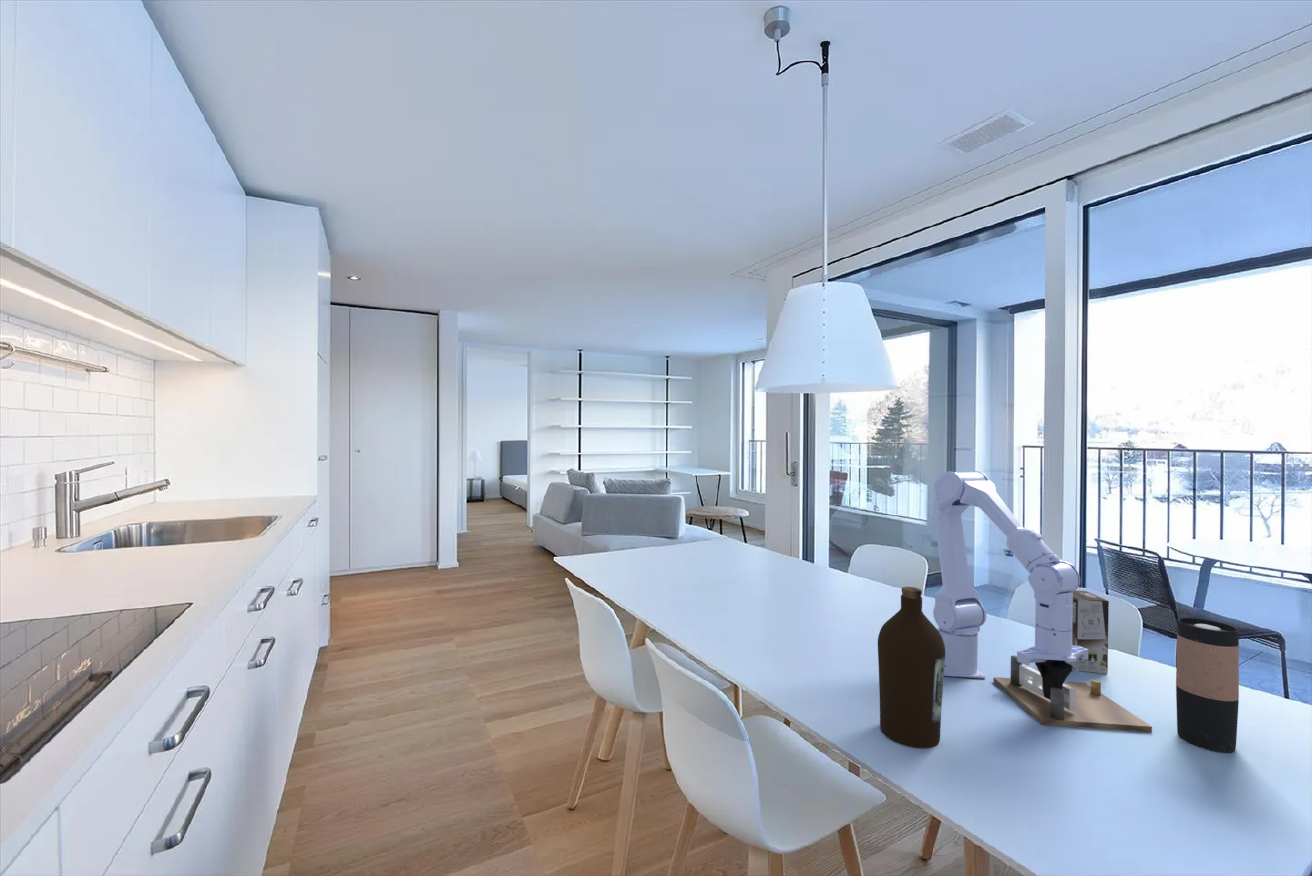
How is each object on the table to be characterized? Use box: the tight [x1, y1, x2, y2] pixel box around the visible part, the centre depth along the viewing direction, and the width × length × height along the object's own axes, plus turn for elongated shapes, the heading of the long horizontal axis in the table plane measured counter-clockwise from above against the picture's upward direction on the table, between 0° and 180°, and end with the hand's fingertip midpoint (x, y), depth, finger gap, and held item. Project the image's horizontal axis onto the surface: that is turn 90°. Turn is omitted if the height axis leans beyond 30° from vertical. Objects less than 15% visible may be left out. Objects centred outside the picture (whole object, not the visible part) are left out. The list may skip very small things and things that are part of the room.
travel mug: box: [1175, 617, 1240, 754], centre depth 96 cm, size 8×8×20 cm
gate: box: [1019, 664, 1076, 710], centre depth 108 cm, size 11×1×4 cm, turn 11°
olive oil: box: [877, 586, 945, 749], centre depth 96 cm, size 11×11×25 cm
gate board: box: [993, 655, 1153, 733], centre depth 108 cm, size 18×18×6 cm
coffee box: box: [1065, 590, 1110, 675], centre depth 128 cm, size 9×6×16 cm
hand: (1052, 699), depth 105 cm, fingers closed
